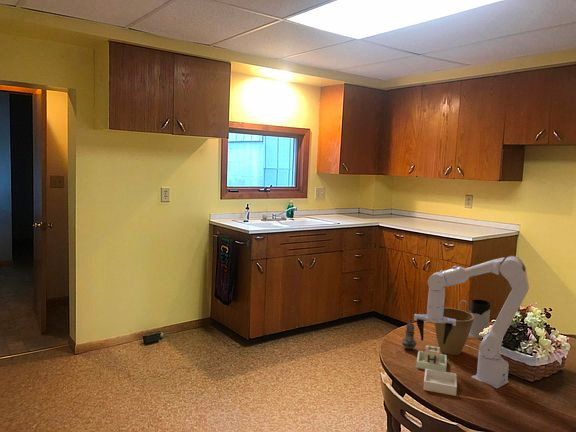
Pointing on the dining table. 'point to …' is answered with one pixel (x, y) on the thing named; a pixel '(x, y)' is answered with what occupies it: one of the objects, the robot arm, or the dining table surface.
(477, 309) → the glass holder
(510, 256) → the robot arm
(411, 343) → the salt shaker
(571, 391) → the dining table surface
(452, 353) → the plant pot
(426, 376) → the white tray
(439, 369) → the sage tray
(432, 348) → the letter block
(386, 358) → the dining table surface
